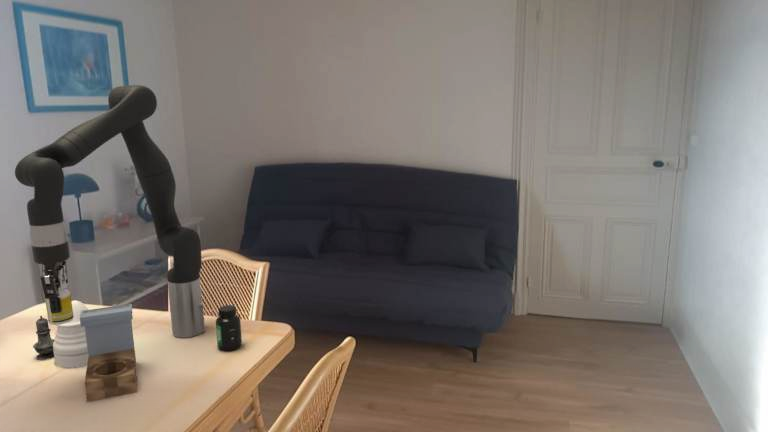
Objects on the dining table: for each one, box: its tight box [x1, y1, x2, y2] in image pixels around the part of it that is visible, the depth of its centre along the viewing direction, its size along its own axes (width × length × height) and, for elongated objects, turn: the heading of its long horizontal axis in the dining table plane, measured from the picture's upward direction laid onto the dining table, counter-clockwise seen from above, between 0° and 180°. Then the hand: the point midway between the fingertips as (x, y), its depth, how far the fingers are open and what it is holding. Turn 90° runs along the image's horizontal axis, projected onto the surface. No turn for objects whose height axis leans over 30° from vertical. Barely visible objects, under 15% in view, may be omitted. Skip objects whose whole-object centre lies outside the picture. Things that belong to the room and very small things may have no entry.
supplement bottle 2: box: [215, 304, 243, 353], centre depth 162 cm, size 7×7×12 cm
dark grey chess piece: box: [32, 315, 55, 361], centre depth 157 cm, size 6×6×12 cm
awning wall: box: [80, 303, 137, 360], centre depth 148 cm, size 12×5×17 cm, turn 114°
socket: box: [84, 349, 138, 403], centre depth 143 cm, size 11×15×5 cm
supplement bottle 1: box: [44, 281, 74, 326], centre depth 137 cm, size 5×5×10 cm
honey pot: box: [53, 300, 90, 369], centre depth 156 cm, size 13×13×18 cm
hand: (59, 307), depth 137 cm, fingers closed on supplement bottle 1, 5 cm apart
